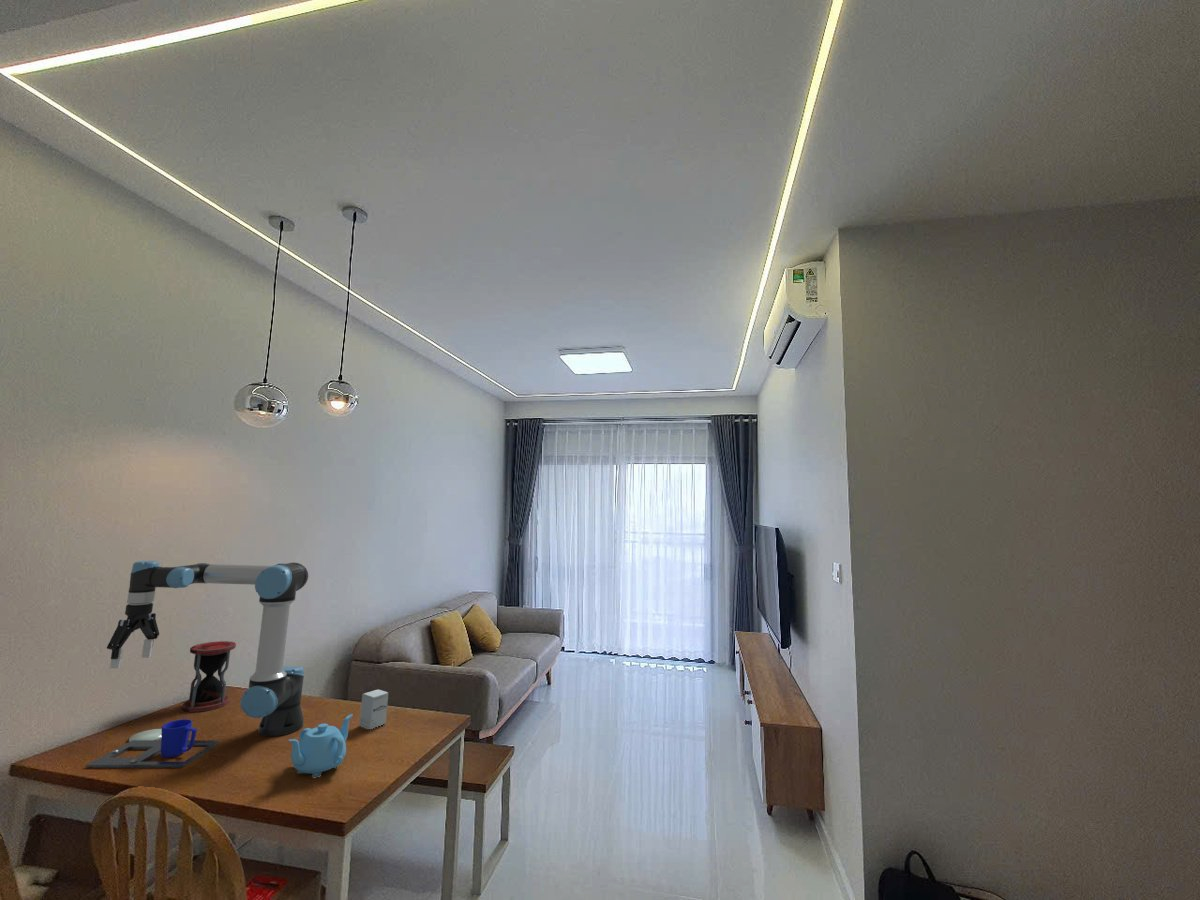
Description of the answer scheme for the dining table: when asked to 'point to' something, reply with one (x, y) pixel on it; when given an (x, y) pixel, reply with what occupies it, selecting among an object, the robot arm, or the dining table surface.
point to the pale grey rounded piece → (147, 735)
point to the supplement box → (373, 709)
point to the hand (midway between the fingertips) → (131, 662)
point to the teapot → (320, 748)
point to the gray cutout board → (146, 755)
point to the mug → (176, 737)
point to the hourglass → (209, 676)
